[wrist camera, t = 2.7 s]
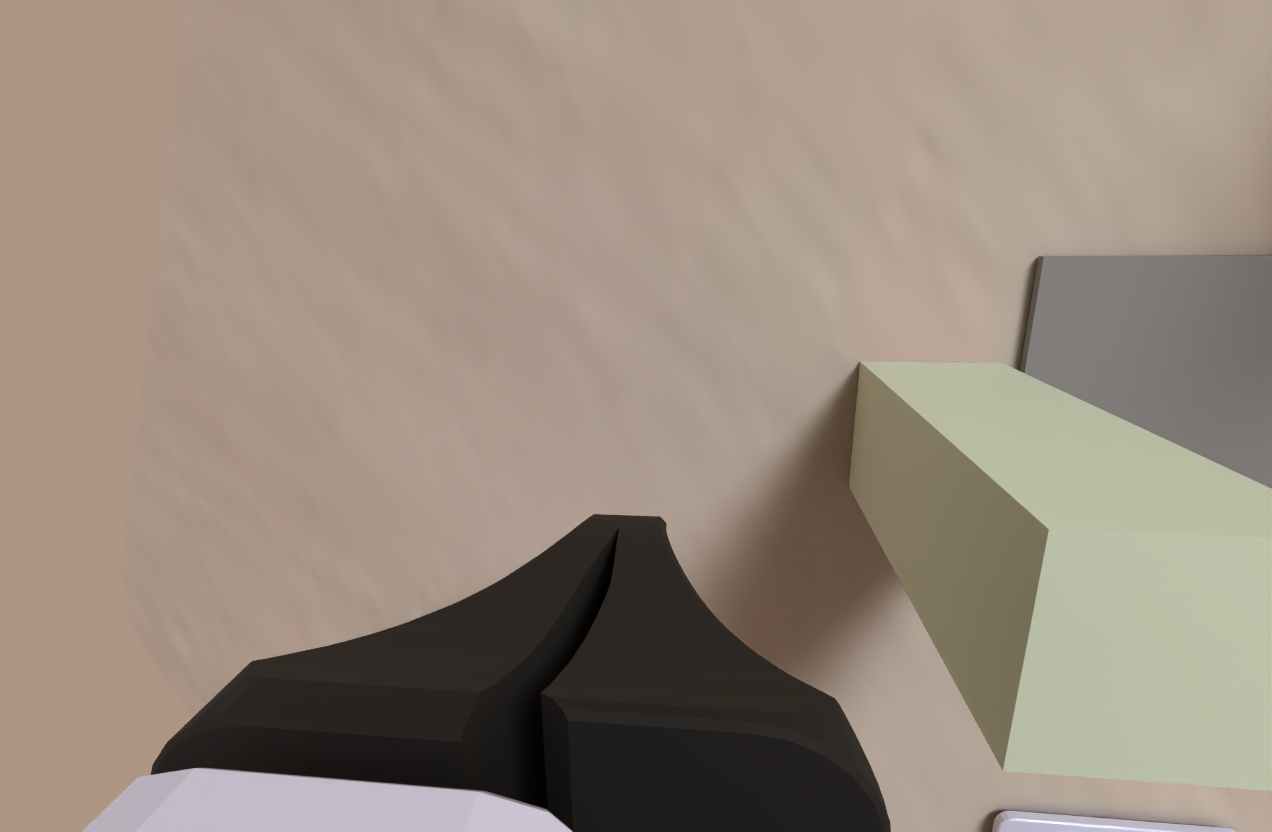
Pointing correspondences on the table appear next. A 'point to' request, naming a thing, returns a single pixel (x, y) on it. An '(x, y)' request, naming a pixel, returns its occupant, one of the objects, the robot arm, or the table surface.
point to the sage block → (1074, 574)
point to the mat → (1163, 347)
